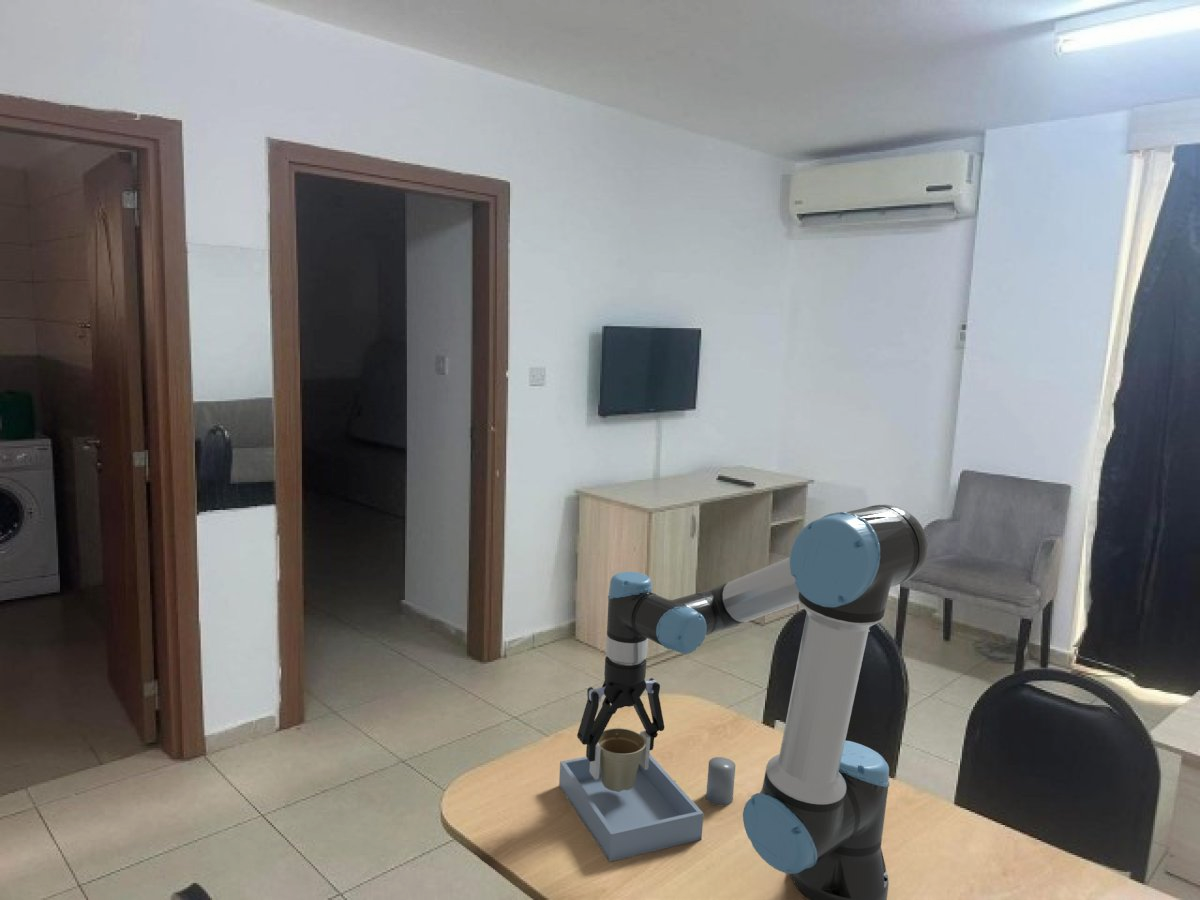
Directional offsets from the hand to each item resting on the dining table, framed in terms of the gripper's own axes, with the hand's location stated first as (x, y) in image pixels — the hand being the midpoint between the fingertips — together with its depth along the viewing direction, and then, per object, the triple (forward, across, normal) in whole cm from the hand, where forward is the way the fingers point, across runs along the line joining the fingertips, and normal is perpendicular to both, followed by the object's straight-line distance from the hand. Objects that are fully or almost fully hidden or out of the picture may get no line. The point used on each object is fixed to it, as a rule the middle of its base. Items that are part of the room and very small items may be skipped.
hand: (619, 770), depth 154 cm
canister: (+6, -18, +6) cm, 20 cm away
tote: (+6, 0, +4) cm, 7 cm away
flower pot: (+3, 0, 0) cm, 3 cm away
